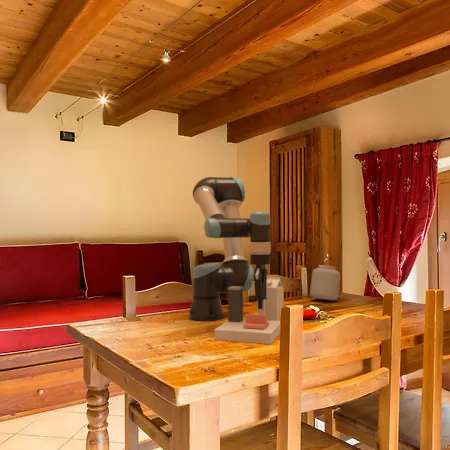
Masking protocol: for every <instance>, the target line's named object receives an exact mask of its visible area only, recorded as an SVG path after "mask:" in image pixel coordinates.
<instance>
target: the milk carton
mask: <svg viewBox="0 0 450 450" xmlns="http://www.w3.org/2000/svg"><path fill="white" fill-rule="evenodd" d="M284 290H285V289H284V283H283V282H282V280H281V276H271V275H270V276H268V275H267V288H266V297H267V299H264V300H265V315H267V320H270V321H280V312H281V308H282V307H283V306H284V307H285V305H284V304H285V303H284V302H285V301H284V300H285V299H284V297H285V293H284Z"/></svg>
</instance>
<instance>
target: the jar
mask: <svg viewBox="0 0 450 450" xmlns="http://www.w3.org/2000/svg"><path fill="white" fill-rule="evenodd" d="M326 256H327V257H329V255H328V254H327V255H326ZM326 260H328V258H325V261H326ZM336 268H337V267H335V266H331V265H322V264H321V265H320V264H319V265H318V267H317V268H314V269H313V270H312V271H311V280H310V281H311V283H310V290H309V291H310V292H309V295H310V296H311V297H312V298H314V299H318V300H324V301H325V300H326V301H336V300H338V299H339V293H340V286H341V285H340V283H341V273H340V272H339V271H338V270H336Z"/></svg>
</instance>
